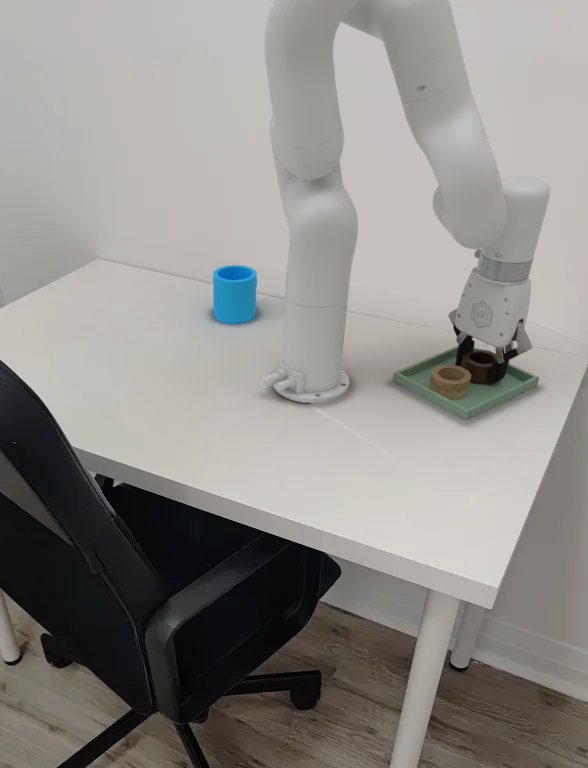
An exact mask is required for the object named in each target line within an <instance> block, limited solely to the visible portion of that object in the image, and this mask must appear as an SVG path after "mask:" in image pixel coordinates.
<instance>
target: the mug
mask: <svg viewBox="0 0 588 768" xmlns="http://www.w3.org/2000/svg"><path fill="white" fill-rule="evenodd" d="M257 288H258V276H257V271H256V269H254V268H252V267H250V266H247V265H241V264H230V265H224V266H223V265H222V266H220V267H218V268H216V269H215V270H214V271H213V273H212V298H213V299H212V301H213V303H212V304H213V305H212V306H213V317H214V318H215V320H217V321H219V322H222V323H224V324H225V323H226V324H245V323H247V322H250V321H252V320H253V319H254V318H255V317H256V314H257Z"/></svg>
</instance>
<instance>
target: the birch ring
mask: <svg viewBox="0 0 588 768" xmlns="http://www.w3.org/2000/svg"><path fill="white" fill-rule="evenodd" d="M470 380H471V374H470V372H469V371H468V370H466V369H464V368H462V367H460V366H455V365H440V366H437V367H435V368H433V370H432V372H431V377H430V382H429V389H431V390H432V391H434V392H436V393H438V394H440V395H442V396H444V397H446V398H448V399H449V400H458V399H461V398H463V397H465V396H466V395H467V393H468V389H469V385H470Z"/></svg>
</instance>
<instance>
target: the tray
mask: <svg viewBox="0 0 588 768" xmlns="http://www.w3.org/2000/svg"><path fill="white" fill-rule="evenodd" d="M458 346H459V344H457V345H456V346H453V347H451V348H449V349H446V350H444V351H442V352H439V353H437V354H435V355H432V356H430V357H427V358H425V359H423V360H420V361H418V362H415V363H413V364H410V365H408V366H406V367H404V368H401V369H398V370H397V371H394V372H393V377H392V382H394V383H396V384H398V385H399V386H401V387H404V388H406V389H407V390H409V391H410V392H412V393H415V394H416V395H418V396H420V397H422V398H424V399H425V400H427V401H428V402H429V401H430V402H431V403H433V404H434V405H436V406H439V407H440V408H442V409H444V410H445V411H447V412H450V413H451V414H453V415H456V417H458V418H460V419H462V420H464V421H468V420H470V419H472V418H475V417H476V416H478V415H480V414H482V413H484V412H486V411H488V410H491V409H493V408H494V407H496V406H498V405H500V404H502V403H504V402H507V401H508V400H511V399H513V398H515V397H517V396H519V395H521V394H523V393H525V392H528V391H529V390H531V389H534V388H535V387H537V386H538V383H539V381H540V377H539V376H537V375H535V374H533V373H531V372H529V371H527V370H524V369H522V368H520V367H519V366H515V365H513V364H511V363H508V367H507V371H506V375H505V377H504V378H503V379H502V380H500V381H498V382H496V383H493V384H489V383H476V382H471V381H470V385H469V389H468V393H467V395H466V396H465V397H463V398H461V399H458V400H449V399H448V398H446V397H444V396H442V395H440V394H438V393H436V392H434V391H432V390H431V389H429V382H430V377H431V372H432V370H433V368H435V367H437V366H440V365H455V363H456V355H457V351H458ZM476 349H478V348H476V347H475V346H474V349H473V350H476Z"/></svg>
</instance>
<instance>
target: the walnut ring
mask: <svg viewBox="0 0 588 768" xmlns="http://www.w3.org/2000/svg"><path fill="white" fill-rule="evenodd" d="M495 360H497V358H496V352H493V351H491V350H487V349H483V348H480V349H479V348H477V349H476V350H469V351H467V352H464V354H463V357H462V361H461V366H460V367H462V368H464V369H466V370H468V371H469V372H470V374H471V380H470V381H471V382H476V383H488V378H489V374H490V370H491V366H492V362H493V361H495Z"/></svg>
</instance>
